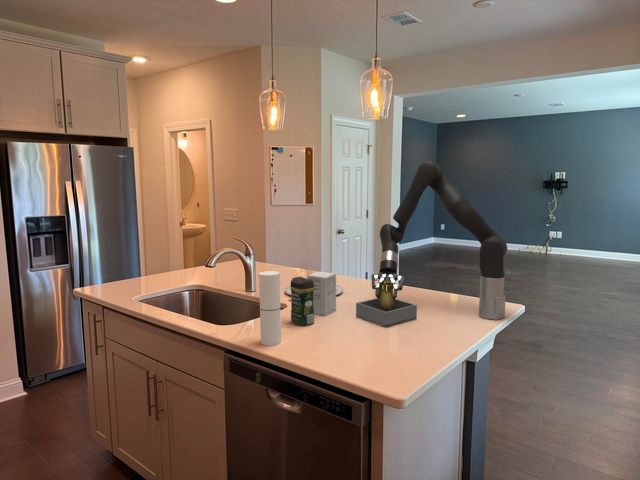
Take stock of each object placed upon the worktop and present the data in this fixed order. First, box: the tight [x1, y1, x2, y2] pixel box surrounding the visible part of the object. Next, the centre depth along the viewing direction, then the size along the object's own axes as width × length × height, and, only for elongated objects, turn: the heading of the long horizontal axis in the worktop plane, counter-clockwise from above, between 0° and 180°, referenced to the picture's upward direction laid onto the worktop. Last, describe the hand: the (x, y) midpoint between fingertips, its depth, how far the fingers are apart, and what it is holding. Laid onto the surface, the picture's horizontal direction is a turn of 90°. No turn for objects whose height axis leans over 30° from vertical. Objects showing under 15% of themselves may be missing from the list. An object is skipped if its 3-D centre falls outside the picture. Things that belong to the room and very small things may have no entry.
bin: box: [355, 297, 418, 329], centre depth 184 cm, size 18×18×6 cm
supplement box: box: [306, 271, 337, 317], centre depth 193 cm, size 10×9×17 cm
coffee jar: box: [289, 276, 315, 326], centre depth 178 cm, size 10×8×19 cm
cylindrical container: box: [258, 270, 282, 347], centre depth 157 cm, size 7×7×25 cm
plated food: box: [284, 284, 344, 296], centre depth 228 cm, size 30×30×3 cm
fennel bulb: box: [378, 281, 394, 311], centre depth 184 cm, size 6×5×12 cm
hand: (386, 297), depth 182 cm, fingers closed on fennel bulb, 6 cm apart
